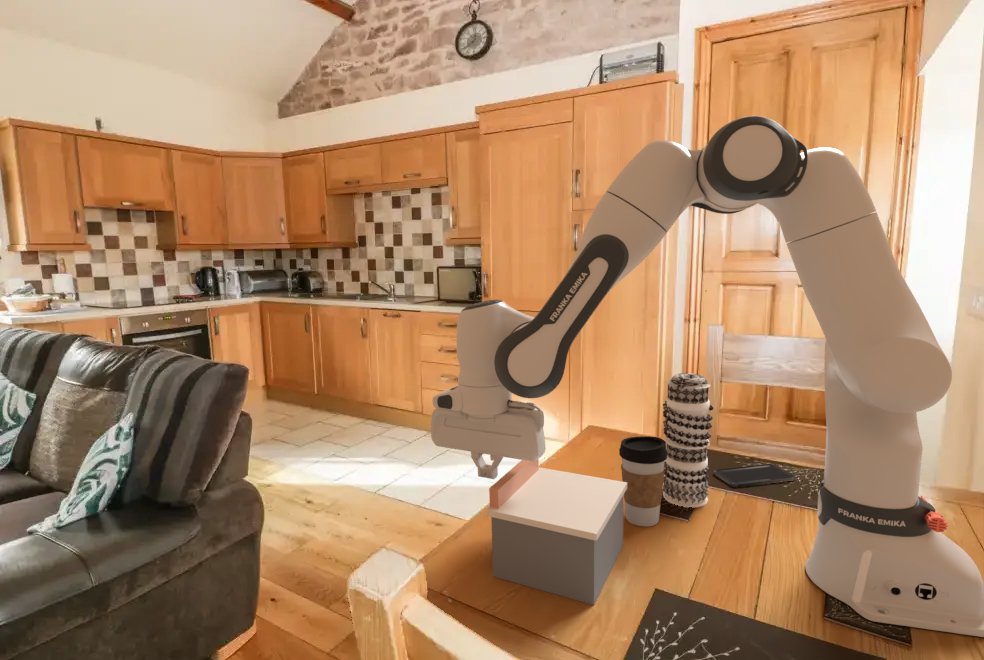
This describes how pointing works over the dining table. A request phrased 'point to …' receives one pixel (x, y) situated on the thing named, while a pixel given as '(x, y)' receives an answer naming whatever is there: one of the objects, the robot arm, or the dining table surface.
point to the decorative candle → (687, 440)
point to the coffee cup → (643, 478)
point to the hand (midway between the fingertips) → (487, 476)
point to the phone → (753, 475)
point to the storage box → (557, 557)
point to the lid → (555, 499)
